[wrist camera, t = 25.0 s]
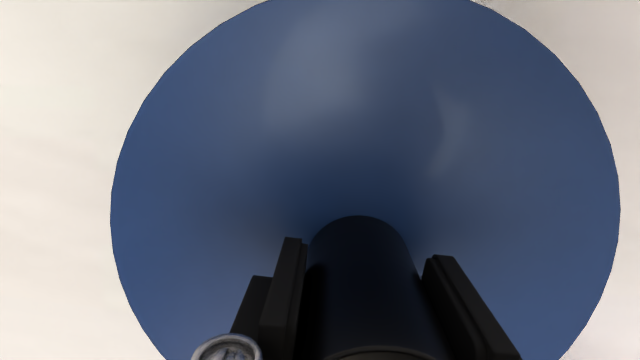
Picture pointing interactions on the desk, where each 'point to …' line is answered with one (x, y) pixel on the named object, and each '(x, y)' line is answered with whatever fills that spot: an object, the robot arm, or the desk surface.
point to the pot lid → (366, 179)
